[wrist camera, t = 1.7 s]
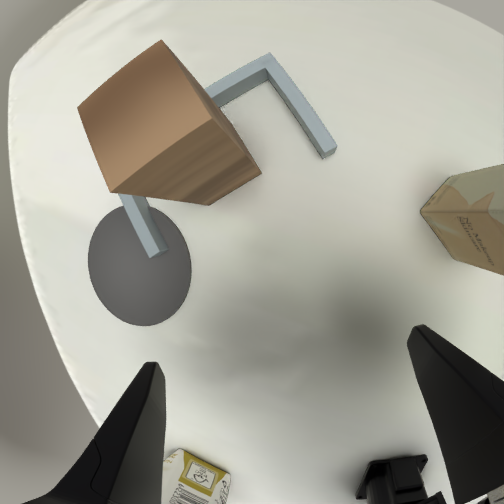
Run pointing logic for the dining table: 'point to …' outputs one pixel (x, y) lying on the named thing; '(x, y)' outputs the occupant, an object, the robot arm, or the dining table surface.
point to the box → (471, 217)
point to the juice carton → (192, 481)
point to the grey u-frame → (221, 95)
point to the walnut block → (164, 133)
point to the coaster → (138, 269)
